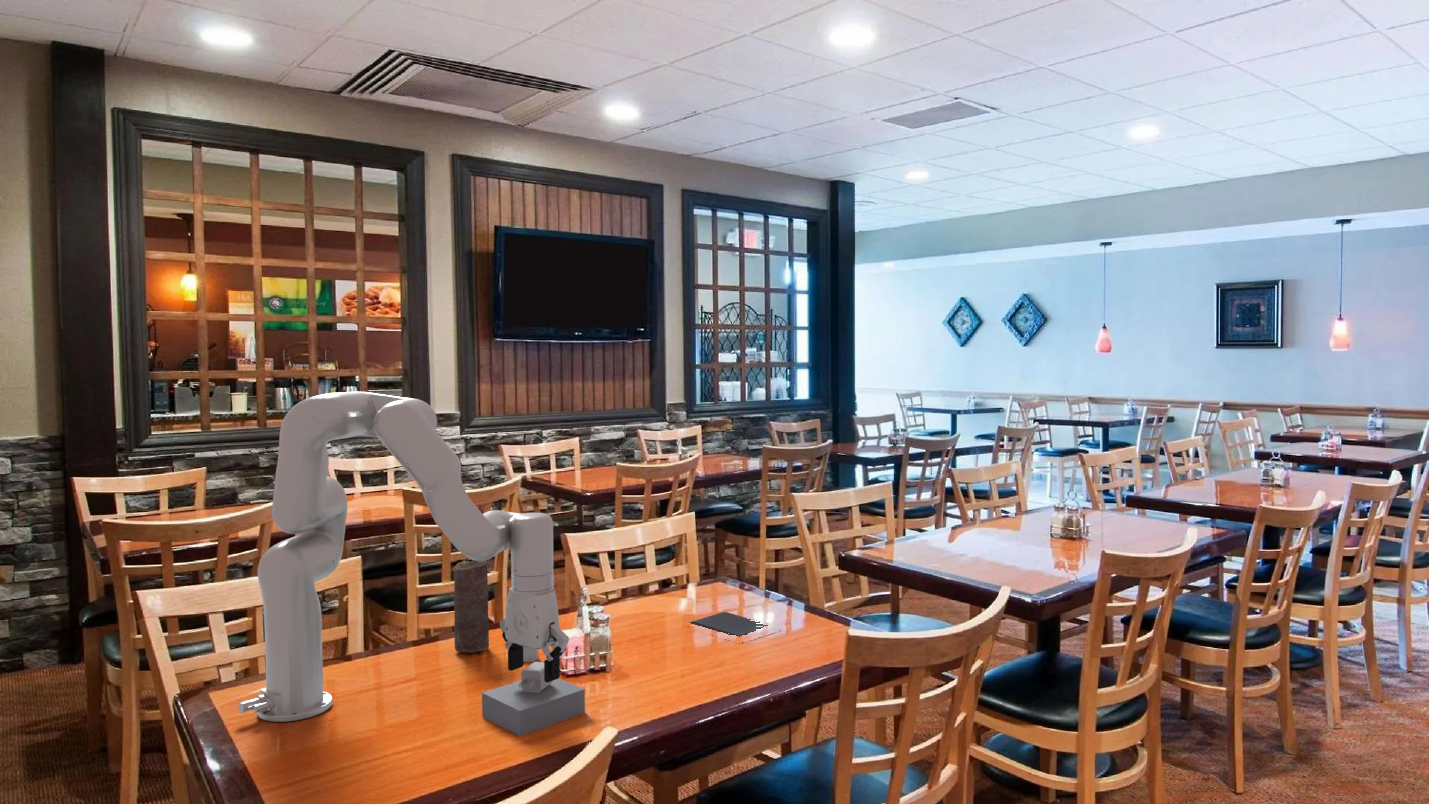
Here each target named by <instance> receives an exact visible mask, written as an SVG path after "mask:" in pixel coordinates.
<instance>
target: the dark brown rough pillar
mask: <svg viewBox="0 0 1429 804" xmlns="http://www.w3.org/2000/svg"><path fill="white" fill-rule="evenodd" d="M453 571H454V572H453V580H454V581H453V582H454V583H453V584H454V586H453V588H454V589H453V591H454V595H453V597H454V599H453V601H454V613H453V615H454V623H453V624H454V649H455V651H456V652H458V653H467V654H468V653H477V652H481V651H484V650H488V649H489V647H490V642H489V641H490V638H489V637H490V636H489V635H490V629H489V625H490V624H489V585H488V584H489V583H488V580H489V579H488V578H489V577H488V562H487V560H485V561H475V560H472V561H461V562H458V563H456V565H455V566H454V567H453Z"/></svg>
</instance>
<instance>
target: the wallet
mask: <svg viewBox="0 0 1429 804" xmlns="http://www.w3.org/2000/svg"><path fill="white" fill-rule="evenodd" d="M747 618H748V617H745V616H742V615H737V614H736V613H735V614H734V613H731V612H727V611H722V612H720V613H715V614H713V615H709V616H705V617H703V618H699V619H696V620H692V621H689V622H688V623H691V624H694V625H690V626H695V625H697V626H702V627H705V628H708V629H712V630H715V631H717V632H723V633H726V634H728V633H729V634H728V635H736V636H739V637H740V636H742V635H747V634H748V633H750V632H754V631H756V629H761V628H763V627H764V626H768V625H763V624H756V623H760V622H761V621H759V622H755V621H750V620H751V619H752V618H749V619H747ZM756 626H763V627H756ZM700 629H704V628H700Z"/></svg>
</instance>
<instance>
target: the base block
mask: <svg viewBox="0 0 1429 804" xmlns="http://www.w3.org/2000/svg"><path fill="white" fill-rule="evenodd" d="M519 683H521V680H519V681H516V682H513V683H508V684H506V685H504V686H499V687H497V688H493V689H490V690H487V691H484V692H481V705H482V707H481V717H482V716H483V717H482V718H484V719H485V720H488V721H490V722H491V723H494V724H495V725H498V726H500V727H502V728H503V729H505V730H507V731H510V733H513V734H514V735H517V736H518V737H522V736H524V735H527V734H530V733H533V732H535V731H536V732H537V731H539V730H541V729H543V728H547V727H549V726H552V725H555V724H557V723H560V722H563V721H565V720H569V719H571V718H574V717H577V716H579V715H581V714H585V713H586V704H585V703H586V701H585V700H586V699H585V697H586V693H585V691H586V689H585V688H583V687H580V686H578V685H576V684H573V683H571V682H569V681H567V680H564V679H561V678H560V677H559V678H558V679H556V680H553V681H552V683H551V684H550V685H548V686H547V687H546V688H545V689H543V690H542V691H541V692H539V693H537V692H527V691H523V690H522V686H521V687H519ZM520 685H521V684H520Z"/></svg>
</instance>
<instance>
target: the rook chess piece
mask: <svg viewBox="0 0 1429 804" xmlns="http://www.w3.org/2000/svg"><path fill="white" fill-rule="evenodd" d="M539 658H540V656H539V649H538V650H536V649H532V648H528V647H525V646H523V663H524V662H525V664H526V662H527V663H528V662H529V663H534V662H537V660H538V659H539ZM533 661H534V662H533Z"/></svg>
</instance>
